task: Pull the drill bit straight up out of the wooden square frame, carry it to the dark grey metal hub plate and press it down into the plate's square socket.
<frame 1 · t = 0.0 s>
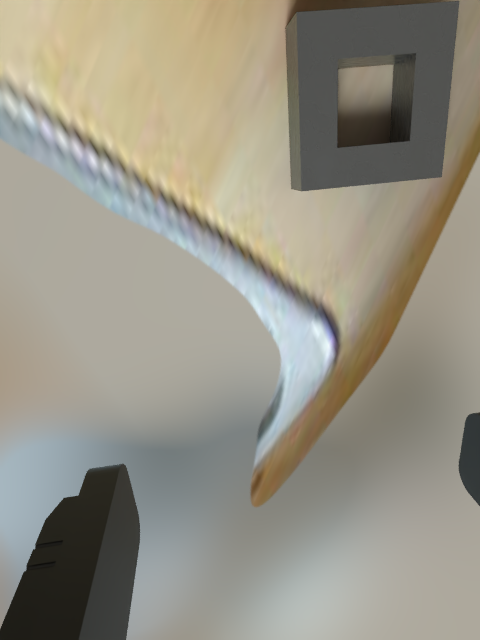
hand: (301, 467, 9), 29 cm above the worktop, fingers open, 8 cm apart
hub plate: (357, 107, 33), on the worktop
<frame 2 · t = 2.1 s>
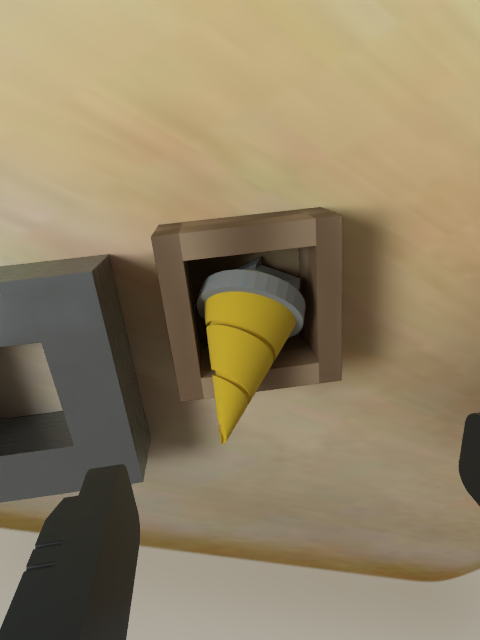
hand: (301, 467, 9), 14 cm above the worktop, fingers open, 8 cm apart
hub plate: (25, 370, 22), on the worktop
wooden square frame: (247, 293, 22), on the worktop
drill bit: (249, 313, 22), on the worktop, touching wooden square frame
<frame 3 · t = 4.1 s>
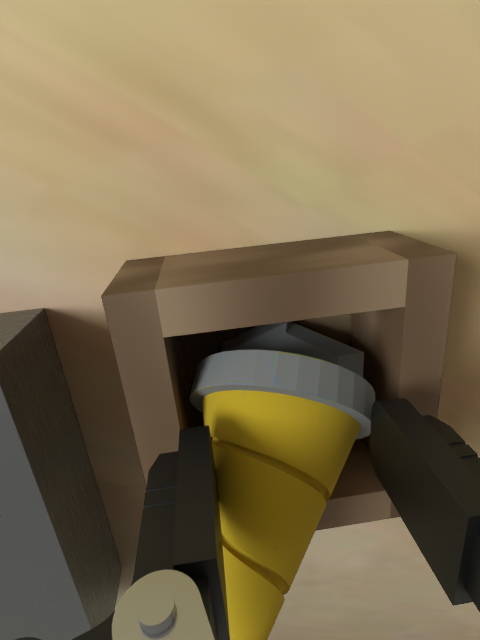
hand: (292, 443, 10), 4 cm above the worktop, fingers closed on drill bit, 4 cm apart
wooden square frame: (269, 363, 14), on the worktop
drill bit: (271, 392, 14), on the worktop, touching gripper, wooden square frame
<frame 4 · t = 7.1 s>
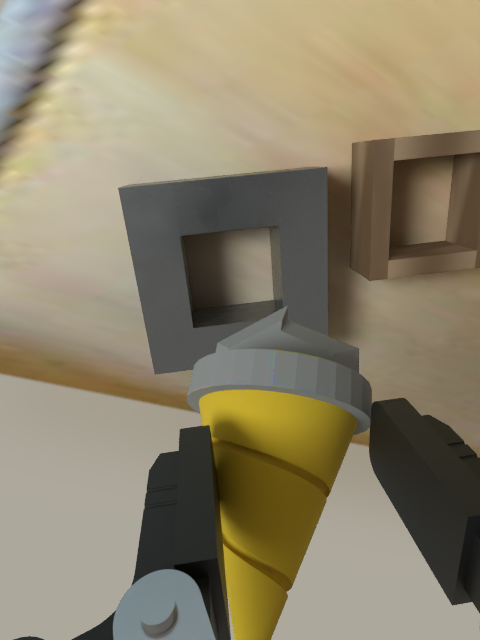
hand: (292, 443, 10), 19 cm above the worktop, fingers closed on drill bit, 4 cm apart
hub plate: (229, 265, 28), on the worktop
wooden square frame: (409, 202, 28), on the worktop
drill bit: (266, 391, 14), point 15 cm above the worktop, touching gripper
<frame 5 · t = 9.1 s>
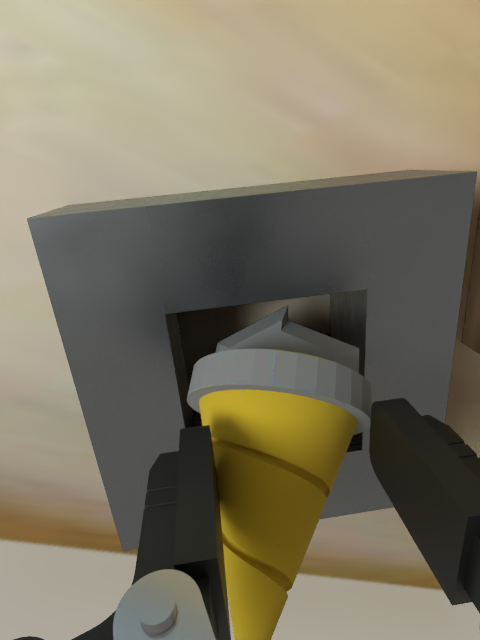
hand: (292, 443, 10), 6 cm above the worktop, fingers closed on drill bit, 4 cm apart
hub plate: (257, 343, 16), on the worktop
drill bit: (267, 391, 14), point 2 cm above the worktop, touching gripper
when the fingers open (5 cm above the worktop, at t = 10.5 s): drill bit stays where it is, resting on hub plate.
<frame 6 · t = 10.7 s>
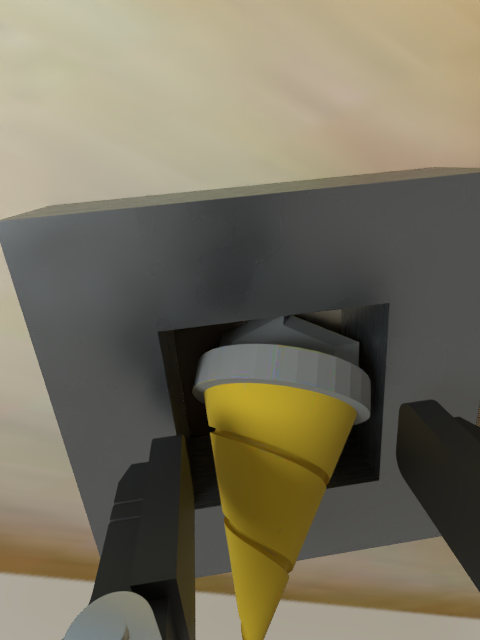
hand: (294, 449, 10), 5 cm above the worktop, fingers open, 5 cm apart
hub plate: (261, 358, 14), on the worktop
drill bit: (269, 382, 15), resting on hub plate
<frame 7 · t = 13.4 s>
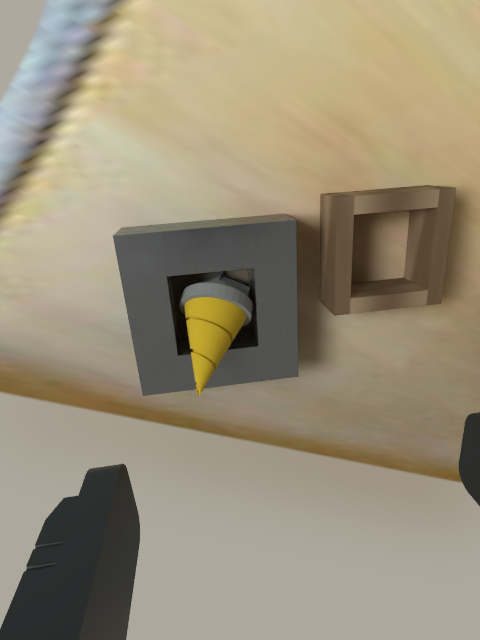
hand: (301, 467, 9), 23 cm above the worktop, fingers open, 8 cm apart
hub plate: (212, 297, 31), on the worktop
wooden square frame: (371, 245, 31), on the worktop
drill bit: (216, 310, 32), resting on hub plate
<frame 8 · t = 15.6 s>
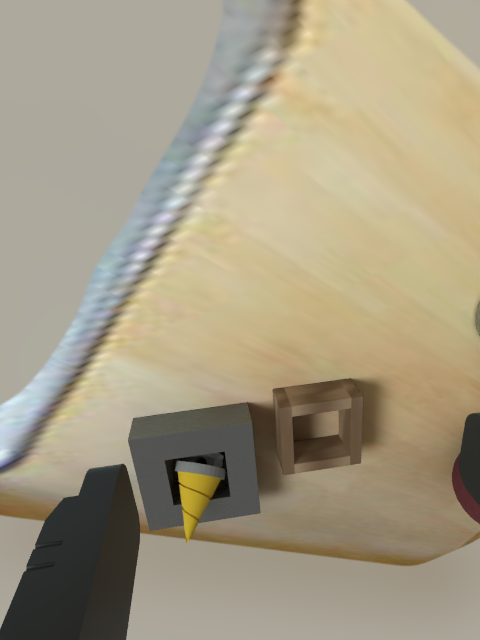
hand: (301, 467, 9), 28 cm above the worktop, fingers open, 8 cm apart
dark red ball: (472, 453, 48), on the worktop
hub plate: (198, 455, 43), on the worktop
wooden square frame: (312, 416, 43), on the worktop
drill bit: (201, 462, 44), resting on hub plate
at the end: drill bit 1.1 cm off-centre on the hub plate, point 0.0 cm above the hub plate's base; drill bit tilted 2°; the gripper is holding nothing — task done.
